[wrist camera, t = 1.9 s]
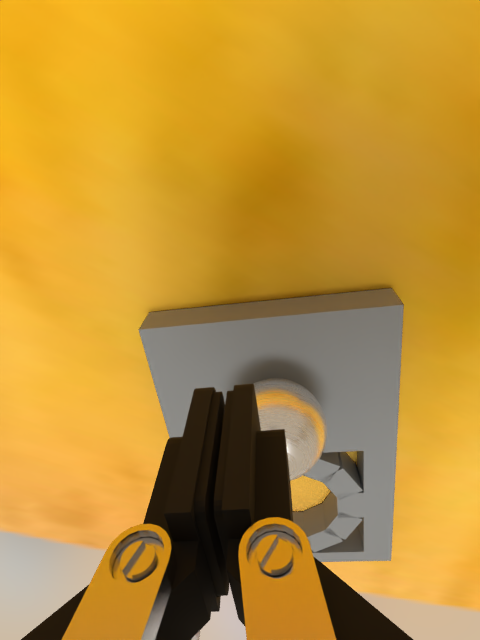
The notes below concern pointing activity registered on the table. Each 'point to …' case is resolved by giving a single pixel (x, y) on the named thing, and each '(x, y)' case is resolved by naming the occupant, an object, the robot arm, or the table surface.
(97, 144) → the table surface
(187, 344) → the hole board
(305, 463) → the steel ball
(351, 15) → the table surface
